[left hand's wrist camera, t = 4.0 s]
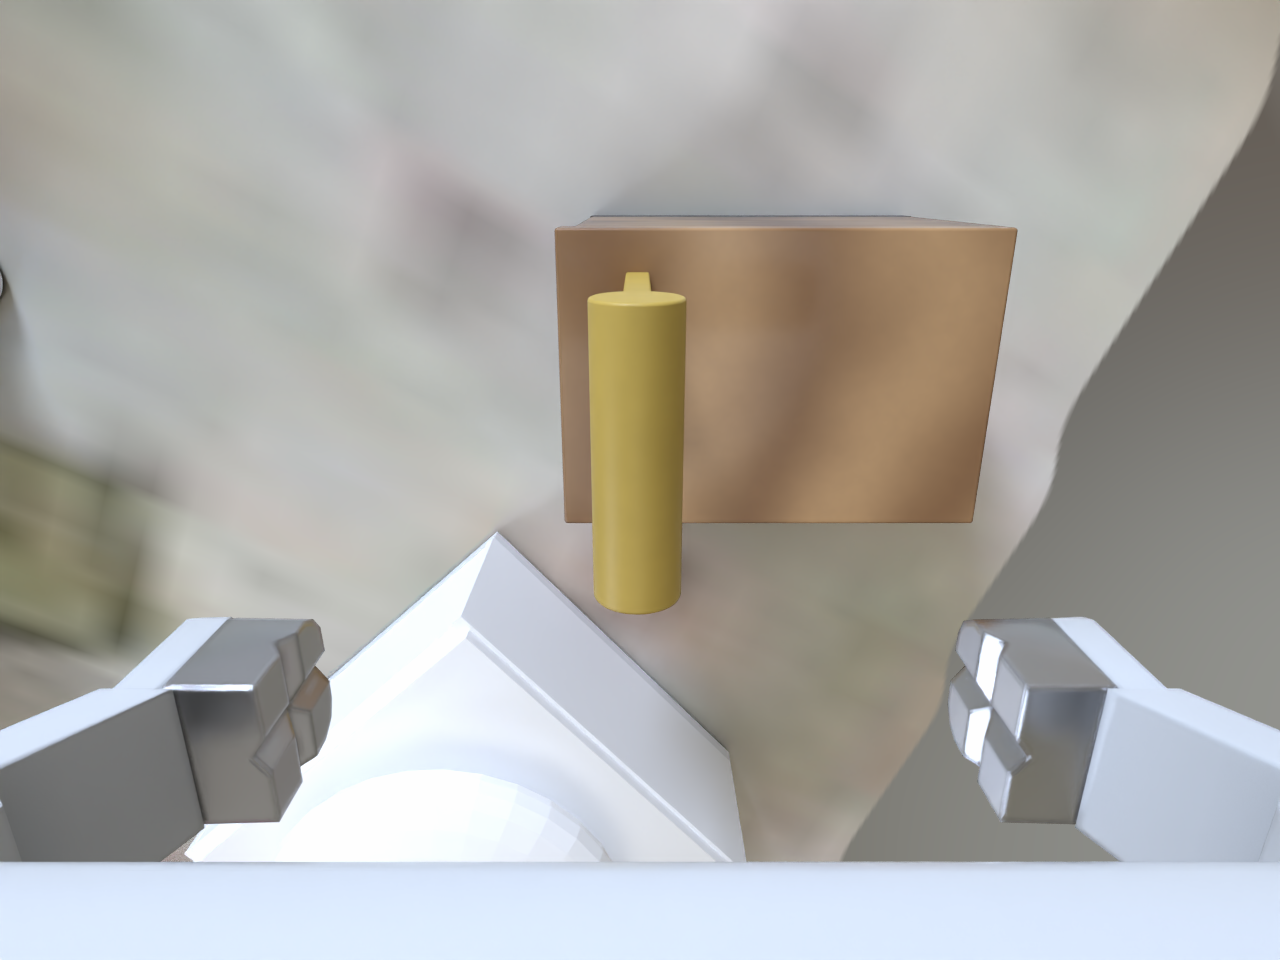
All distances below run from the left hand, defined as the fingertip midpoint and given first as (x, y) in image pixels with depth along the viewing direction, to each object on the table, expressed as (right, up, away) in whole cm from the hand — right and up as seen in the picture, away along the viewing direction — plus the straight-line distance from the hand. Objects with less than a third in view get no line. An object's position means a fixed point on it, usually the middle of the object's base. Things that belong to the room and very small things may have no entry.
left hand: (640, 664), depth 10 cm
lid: (+4, +6, +16) cm, 17 cm away
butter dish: (-7, -12, +33) cm, 35 cm away
